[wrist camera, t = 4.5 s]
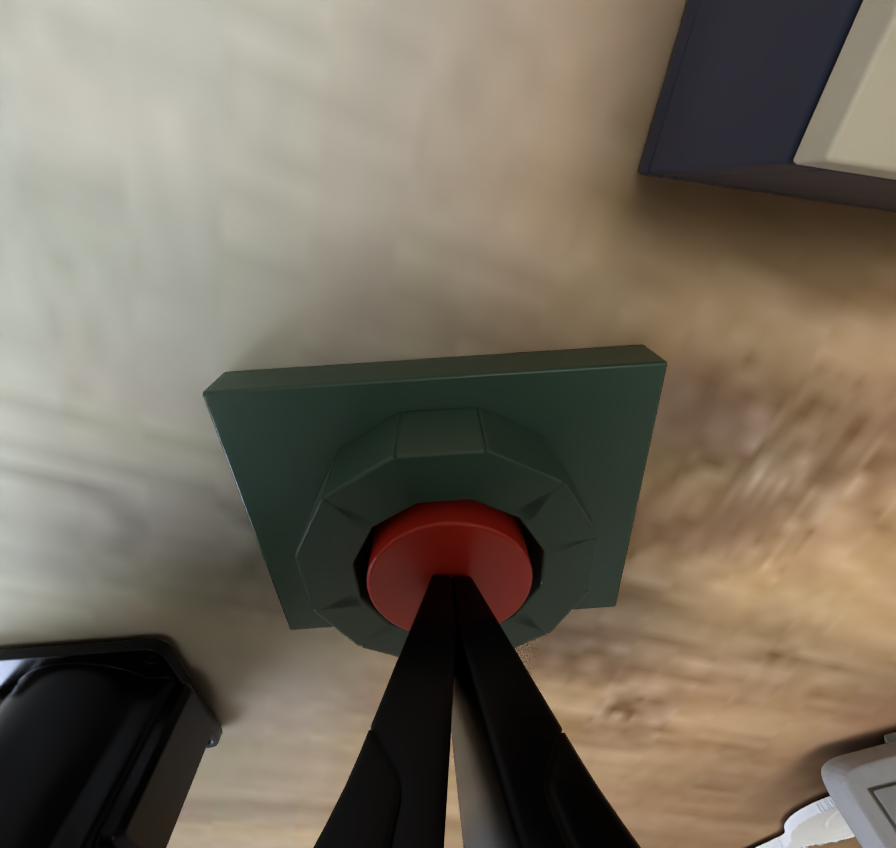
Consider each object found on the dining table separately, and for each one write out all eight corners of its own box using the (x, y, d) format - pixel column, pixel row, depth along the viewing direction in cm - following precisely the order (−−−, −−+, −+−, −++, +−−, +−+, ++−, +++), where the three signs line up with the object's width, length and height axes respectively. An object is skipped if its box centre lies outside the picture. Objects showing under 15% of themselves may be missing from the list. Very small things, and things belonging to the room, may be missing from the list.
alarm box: (300, 597, 14) (270, 692, 11) (224, 371, 10) (151, 436, 7) (602, 575, 14) (642, 665, 11) (643, 343, 10) (720, 398, 7)
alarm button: (384, 583, 11) (378, 643, 10) (365, 476, 10) (353, 530, 8) (516, 573, 12) (530, 632, 10) (520, 465, 10) (537, 517, 8)
